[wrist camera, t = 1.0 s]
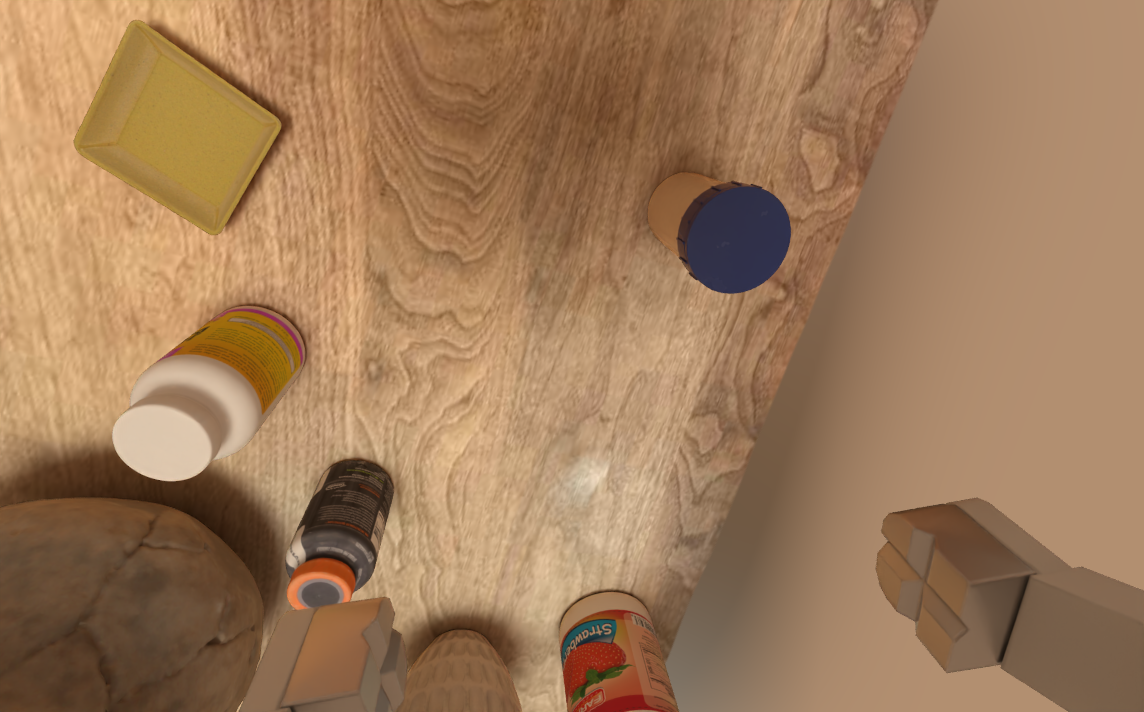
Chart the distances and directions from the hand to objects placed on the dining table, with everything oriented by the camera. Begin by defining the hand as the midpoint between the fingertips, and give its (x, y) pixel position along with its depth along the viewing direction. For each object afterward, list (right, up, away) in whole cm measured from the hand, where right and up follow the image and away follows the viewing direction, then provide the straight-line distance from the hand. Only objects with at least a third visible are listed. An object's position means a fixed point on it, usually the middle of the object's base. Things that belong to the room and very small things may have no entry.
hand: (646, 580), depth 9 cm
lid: (+8, +10, +22) cm, 26 cm away
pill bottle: (-19, -7, +37) cm, 42 cm away
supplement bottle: (-24, +4, +31) cm, 40 cm away
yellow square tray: (-24, +17, +25) cm, 39 cm away
